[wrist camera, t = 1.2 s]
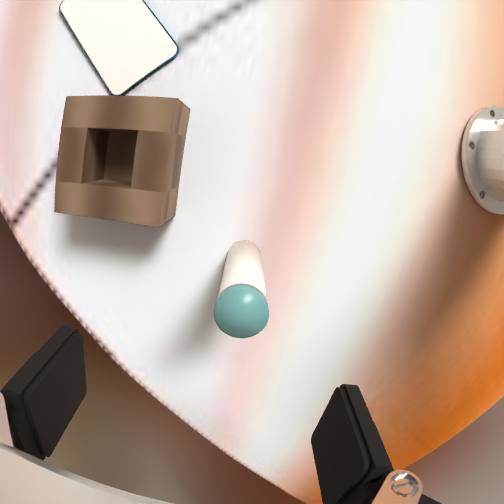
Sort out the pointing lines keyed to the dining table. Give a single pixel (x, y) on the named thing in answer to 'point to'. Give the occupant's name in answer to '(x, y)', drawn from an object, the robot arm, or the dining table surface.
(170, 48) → the smartphone
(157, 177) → the socket block
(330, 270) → the dining table surface
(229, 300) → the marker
